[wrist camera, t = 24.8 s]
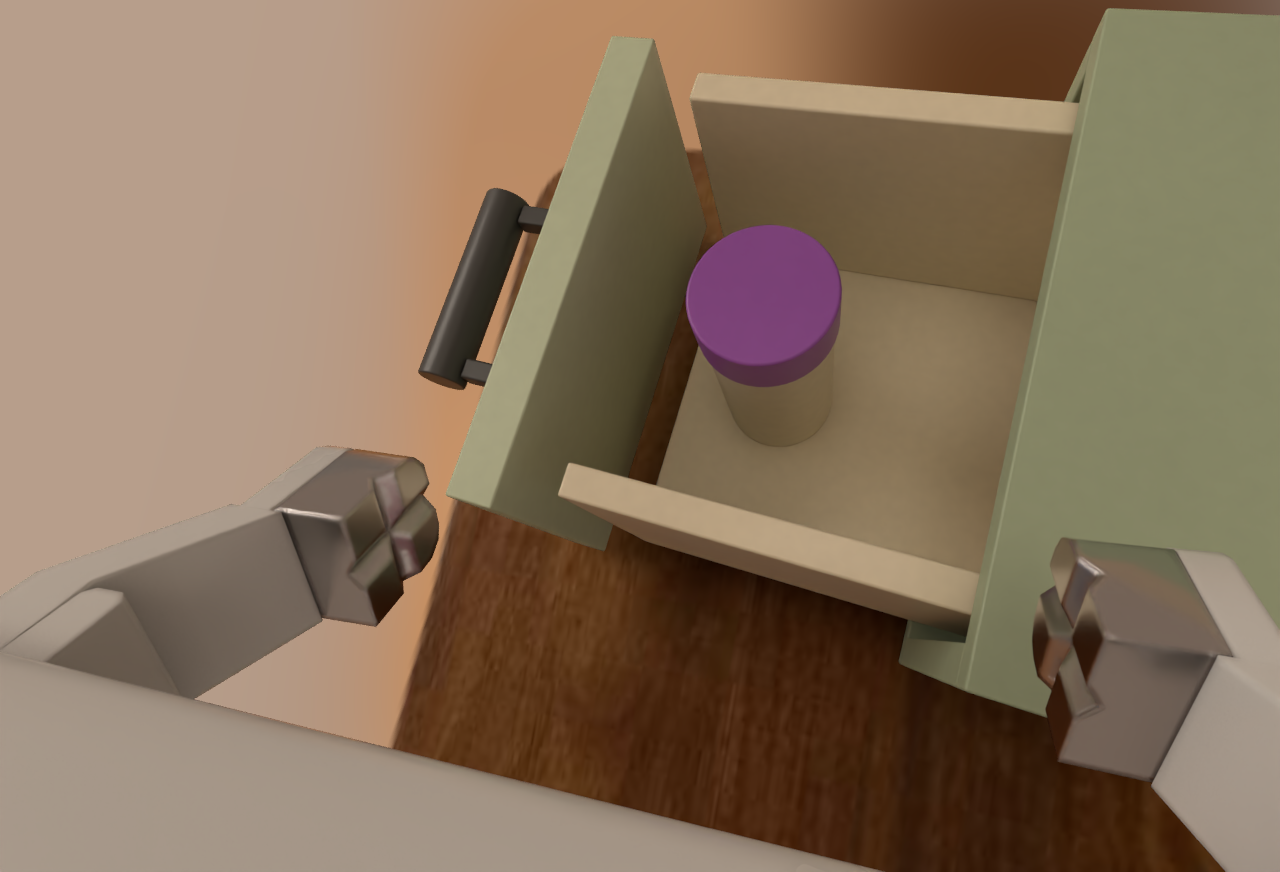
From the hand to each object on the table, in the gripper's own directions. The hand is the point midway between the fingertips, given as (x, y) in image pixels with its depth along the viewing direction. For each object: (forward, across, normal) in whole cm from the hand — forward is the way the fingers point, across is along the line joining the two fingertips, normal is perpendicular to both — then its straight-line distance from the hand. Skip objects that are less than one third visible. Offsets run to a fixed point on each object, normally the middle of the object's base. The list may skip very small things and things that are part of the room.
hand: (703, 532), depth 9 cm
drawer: (+14, +1, +5) cm, 15 cm away
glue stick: (+13, 0, +5) cm, 14 cm away
